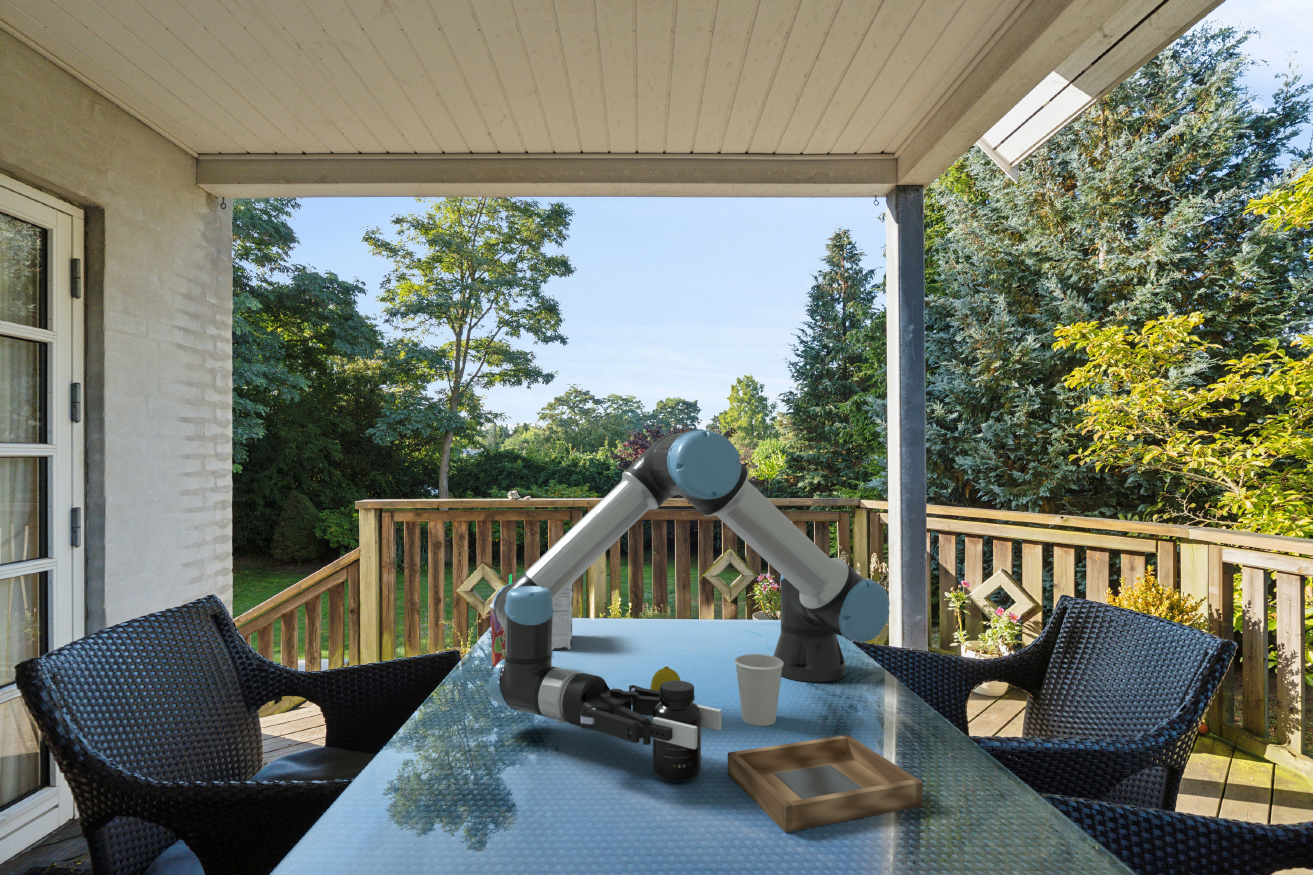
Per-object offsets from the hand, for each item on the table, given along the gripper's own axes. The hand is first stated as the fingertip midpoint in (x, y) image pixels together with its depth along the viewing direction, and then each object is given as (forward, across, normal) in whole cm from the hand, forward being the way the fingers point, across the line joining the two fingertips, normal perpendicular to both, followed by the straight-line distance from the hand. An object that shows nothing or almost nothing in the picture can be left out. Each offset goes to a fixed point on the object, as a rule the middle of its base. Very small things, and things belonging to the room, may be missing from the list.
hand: (708, 728), depth 93 cm
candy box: (-65, -46, -8) cm, 79 cm away
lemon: (-19, -20, -8) cm, 28 cm away
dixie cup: (-4, -26, -8) cm, 27 cm away
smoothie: (-59, -23, -8) cm, 63 cm away
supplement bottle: (-5, 0, -7) cm, 9 cm away
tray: (+13, -7, -8) cm, 17 cm away
